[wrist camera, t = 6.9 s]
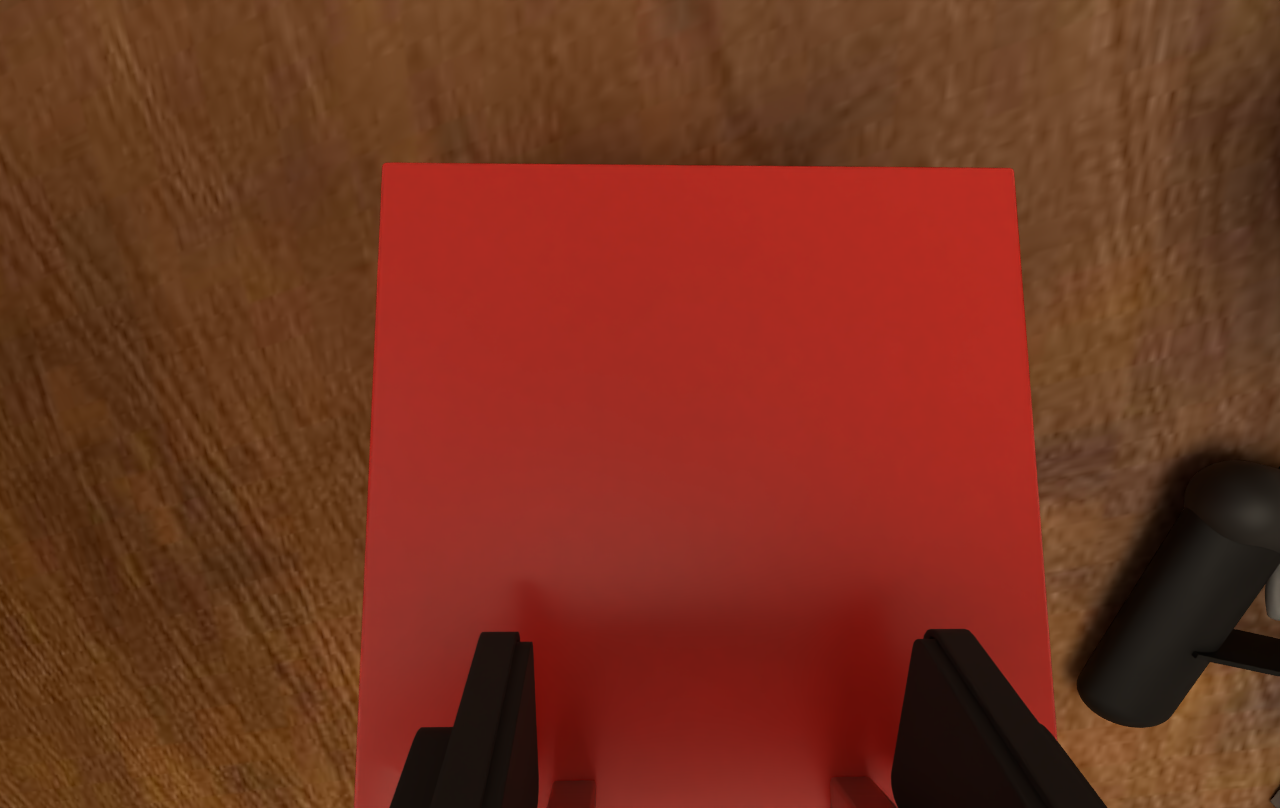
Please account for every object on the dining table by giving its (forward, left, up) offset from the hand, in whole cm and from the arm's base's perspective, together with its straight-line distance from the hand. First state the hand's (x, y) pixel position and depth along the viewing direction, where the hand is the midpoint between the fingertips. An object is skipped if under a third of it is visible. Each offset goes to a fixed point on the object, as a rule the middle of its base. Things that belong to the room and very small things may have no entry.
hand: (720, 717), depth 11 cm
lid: (-1, +1, -3) cm, 3 cm away
